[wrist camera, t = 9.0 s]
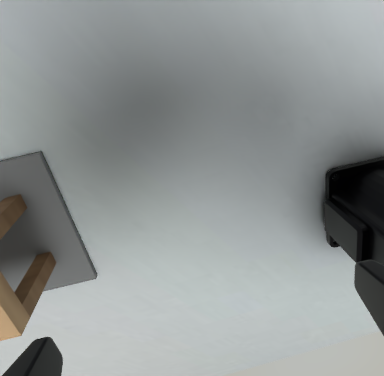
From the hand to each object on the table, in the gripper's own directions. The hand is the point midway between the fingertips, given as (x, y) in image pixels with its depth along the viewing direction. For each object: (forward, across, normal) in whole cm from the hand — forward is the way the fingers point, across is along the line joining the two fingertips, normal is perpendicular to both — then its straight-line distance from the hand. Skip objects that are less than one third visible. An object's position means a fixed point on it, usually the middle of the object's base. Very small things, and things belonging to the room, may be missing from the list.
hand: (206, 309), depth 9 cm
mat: (+12, +13, +2) cm, 18 cm away
